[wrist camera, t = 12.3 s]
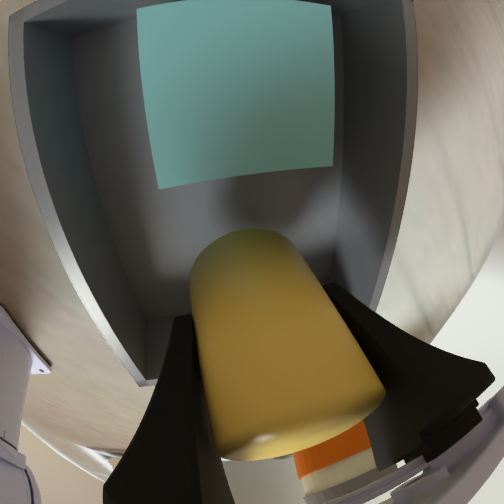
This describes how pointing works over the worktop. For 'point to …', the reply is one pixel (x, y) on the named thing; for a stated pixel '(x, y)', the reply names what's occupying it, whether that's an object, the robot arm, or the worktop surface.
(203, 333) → the cylinder
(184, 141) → the cube
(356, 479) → the reusable coffee cup
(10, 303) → the worktop surface
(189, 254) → the tote
